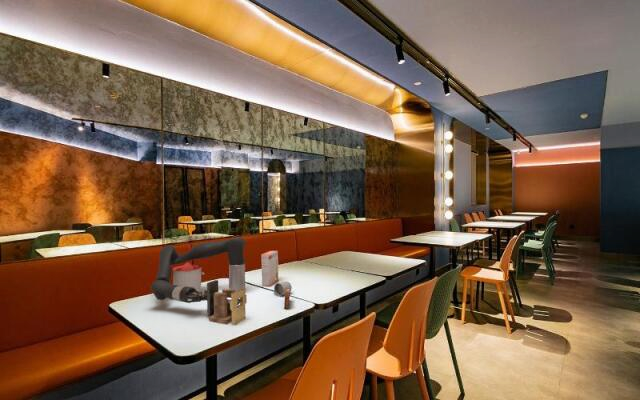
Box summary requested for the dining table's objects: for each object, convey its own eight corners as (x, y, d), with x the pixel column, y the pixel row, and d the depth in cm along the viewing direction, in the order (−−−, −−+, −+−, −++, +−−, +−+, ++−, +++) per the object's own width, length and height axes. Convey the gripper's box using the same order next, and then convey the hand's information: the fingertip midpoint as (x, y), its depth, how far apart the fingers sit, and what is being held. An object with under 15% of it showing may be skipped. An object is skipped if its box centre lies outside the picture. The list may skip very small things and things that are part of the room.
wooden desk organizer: (207, 316, 149) (206, 283, 149) (216, 312, 155) (215, 279, 155) (234, 321, 143) (233, 286, 143) (242, 316, 149) (241, 282, 148)
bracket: (209, 321, 146) (208, 293, 146) (223, 313, 155) (223, 287, 155) (226, 324, 142) (226, 295, 142) (240, 316, 151) (239, 289, 151)
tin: (284, 300, 174) (284, 285, 174) (290, 300, 174) (290, 285, 174) (283, 310, 159) (283, 293, 159) (290, 310, 159) (289, 293, 159)
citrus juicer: (208, 296, 183) (208, 262, 183) (176, 302, 172) (176, 266, 172) (200, 290, 195) (200, 258, 195) (169, 295, 185) (169, 261, 185)
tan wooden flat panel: (230, 325, 141) (229, 294, 141) (244, 317, 151) (243, 288, 150) (233, 325, 141) (232, 294, 141) (246, 317, 150) (246, 288, 150)
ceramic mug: (292, 293, 186) (292, 280, 186) (283, 297, 179) (282, 284, 179) (279, 291, 192) (279, 278, 192) (270, 294, 186) (269, 281, 186)
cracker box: (270, 280, 216) (270, 250, 216) (278, 281, 215) (278, 250, 214) (261, 286, 203) (260, 254, 203) (269, 286, 201) (269, 254, 201)
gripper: (194, 297, 165) (220, 302, 158) (173, 305, 152) (201, 310, 146) (194, 283, 165) (220, 287, 158) (173, 290, 152) (201, 294, 146)
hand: (211, 298), depth 152 cm, fingers closed
